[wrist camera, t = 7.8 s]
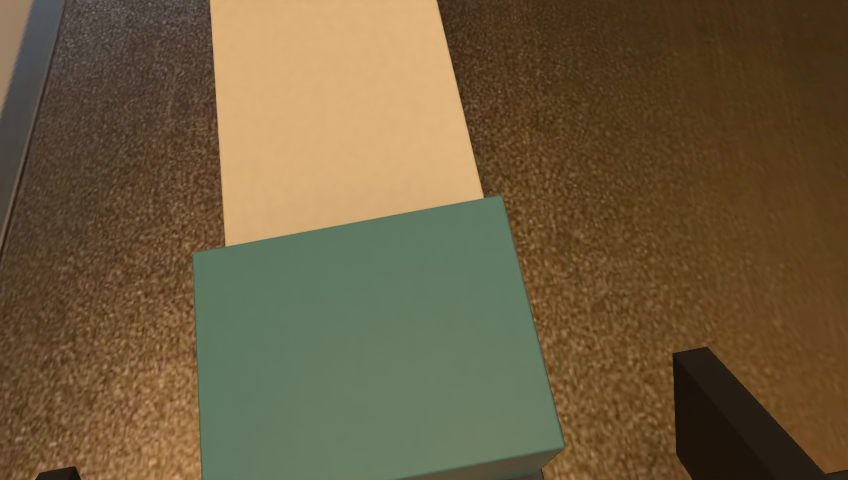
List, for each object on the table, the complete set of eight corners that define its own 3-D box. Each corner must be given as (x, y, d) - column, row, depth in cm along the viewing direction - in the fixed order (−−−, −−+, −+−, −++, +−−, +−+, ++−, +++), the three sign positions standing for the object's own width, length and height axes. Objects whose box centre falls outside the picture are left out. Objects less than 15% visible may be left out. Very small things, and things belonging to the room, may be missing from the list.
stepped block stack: (544, 509, 22) (589, 497, 14) (299, 557, 22) (194, 573, 13) (417, -39, 31) (398, -242, 23) (247, -8, 31) (167, -201, 23)
